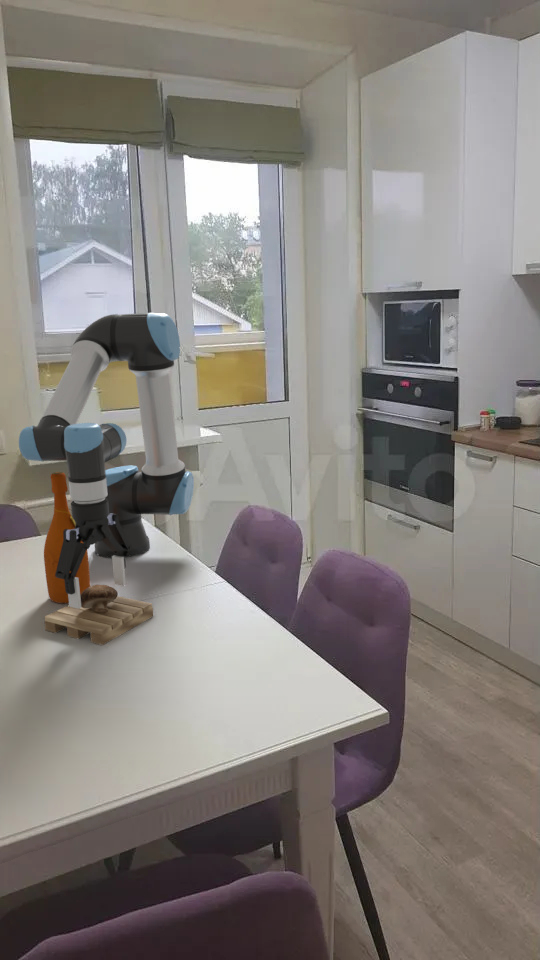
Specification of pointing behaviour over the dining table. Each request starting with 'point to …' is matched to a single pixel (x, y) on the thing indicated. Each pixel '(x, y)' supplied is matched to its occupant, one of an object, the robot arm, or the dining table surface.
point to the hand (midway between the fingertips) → (98, 595)
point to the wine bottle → (61, 543)
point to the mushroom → (98, 597)
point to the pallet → (100, 619)
